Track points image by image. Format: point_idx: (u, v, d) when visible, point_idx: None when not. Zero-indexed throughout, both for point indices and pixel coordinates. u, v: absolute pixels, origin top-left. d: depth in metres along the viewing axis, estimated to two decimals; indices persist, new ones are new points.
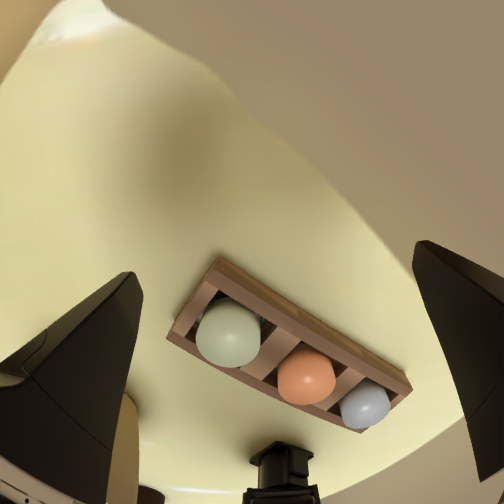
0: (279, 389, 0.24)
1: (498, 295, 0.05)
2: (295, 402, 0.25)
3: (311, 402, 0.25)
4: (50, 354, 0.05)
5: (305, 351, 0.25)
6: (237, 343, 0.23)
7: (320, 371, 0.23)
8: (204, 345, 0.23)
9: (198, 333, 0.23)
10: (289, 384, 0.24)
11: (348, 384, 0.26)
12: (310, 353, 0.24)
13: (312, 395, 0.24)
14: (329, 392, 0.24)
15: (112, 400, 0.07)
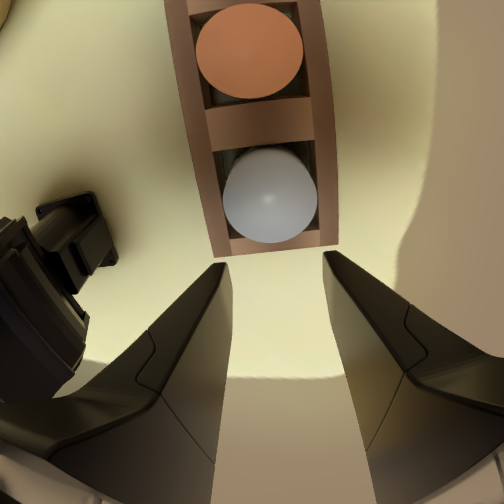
0: (208, 23, 0.11)
1: (379, 321, 0.05)
2: (203, 67, 0.12)
3: (223, 88, 0.13)
4: (174, 361, 0.05)
5: None
6: None
7: (289, 42, 0.11)
8: None
9: None
10: (230, 25, 0.11)
11: (283, 128, 0.15)
12: None
13: (238, 74, 0.12)
14: (264, 93, 0.13)
15: (217, 406, 0.07)
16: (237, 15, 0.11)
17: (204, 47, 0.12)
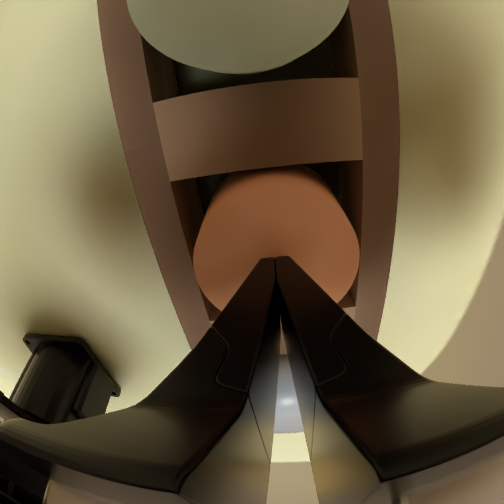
0: (210, 223, 0.08)
1: (306, 331, 0.05)
2: (208, 289, 0.09)
3: None
4: (254, 358, 0.05)
5: (328, 189, 0.09)
6: None
7: (340, 257, 0.09)
8: None
9: None
10: (247, 229, 0.08)
11: None
12: (337, 202, 0.09)
13: None
14: None
15: (273, 404, 0.07)
16: (260, 211, 0.08)
17: (206, 262, 0.09)
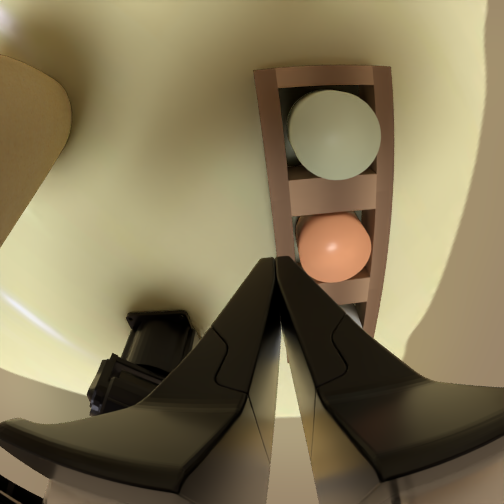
0: (311, 233, 0.19)
1: (306, 331, 0.05)
2: (304, 263, 0.20)
3: (315, 276, 0.21)
4: (254, 358, 0.05)
5: (357, 217, 0.20)
6: (346, 147, 0.15)
7: (363, 248, 0.20)
8: (311, 114, 0.14)
9: (323, 95, 0.14)
10: (326, 236, 0.19)
11: (348, 296, 0.23)
12: None
13: (326, 268, 0.21)
14: (341, 279, 0.21)
15: (273, 404, 0.07)
16: (332, 228, 0.19)
17: (306, 250, 0.20)
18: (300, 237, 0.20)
